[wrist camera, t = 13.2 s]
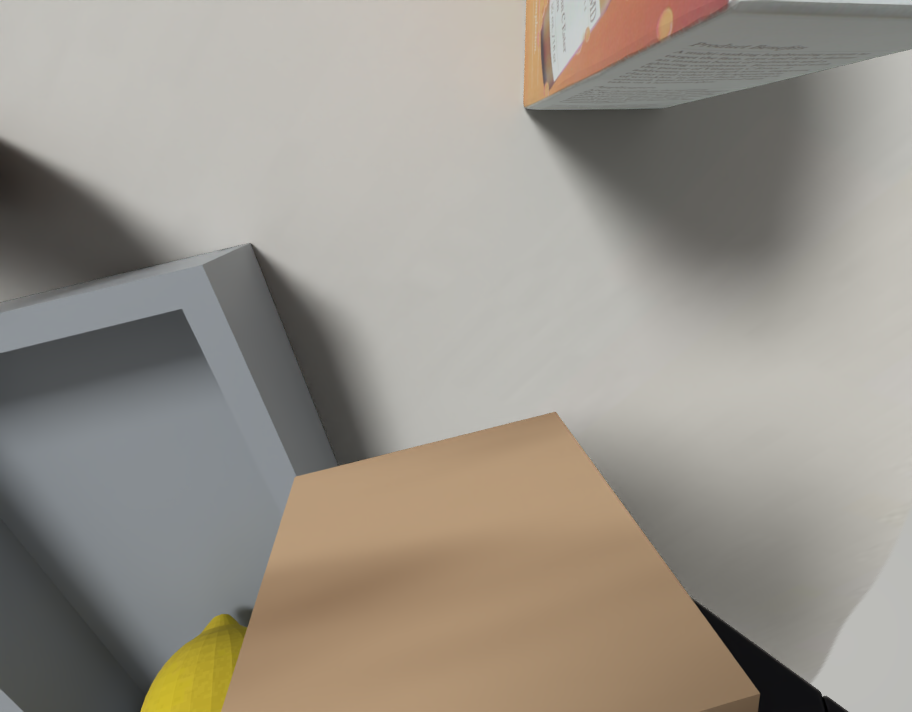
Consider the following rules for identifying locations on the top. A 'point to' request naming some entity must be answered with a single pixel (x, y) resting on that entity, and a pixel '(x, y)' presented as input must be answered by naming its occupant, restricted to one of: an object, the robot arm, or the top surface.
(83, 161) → the top surface
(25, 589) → the tote
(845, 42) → the small box
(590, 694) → the walnut cube
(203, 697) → the lemon
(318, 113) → the top surface
